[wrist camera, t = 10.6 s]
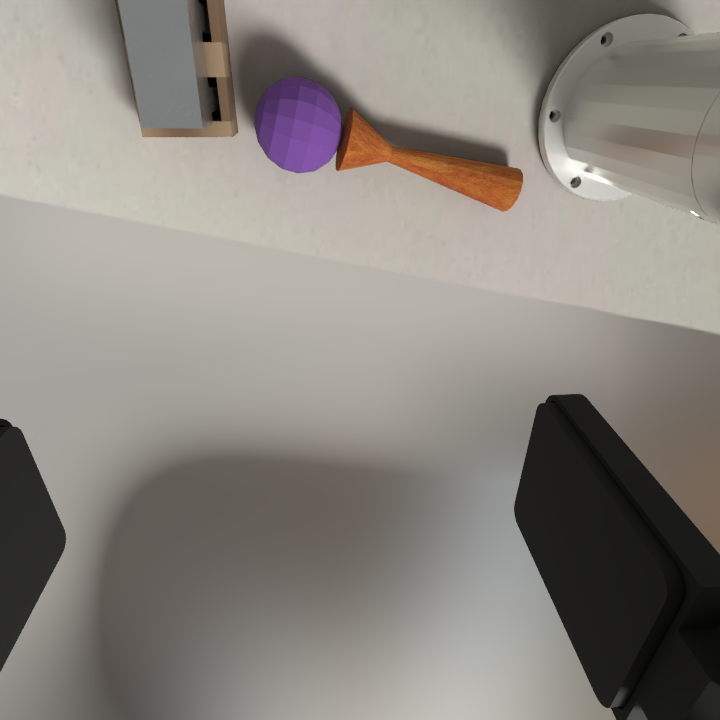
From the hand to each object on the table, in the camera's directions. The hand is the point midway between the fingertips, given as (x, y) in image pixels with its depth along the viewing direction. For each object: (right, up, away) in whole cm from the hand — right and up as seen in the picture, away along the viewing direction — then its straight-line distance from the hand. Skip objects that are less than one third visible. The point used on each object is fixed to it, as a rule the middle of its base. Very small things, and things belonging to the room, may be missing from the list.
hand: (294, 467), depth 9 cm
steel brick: (-11, +23, +24) cm, 35 cm away
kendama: (+3, +18, +29) cm, 34 cm away
